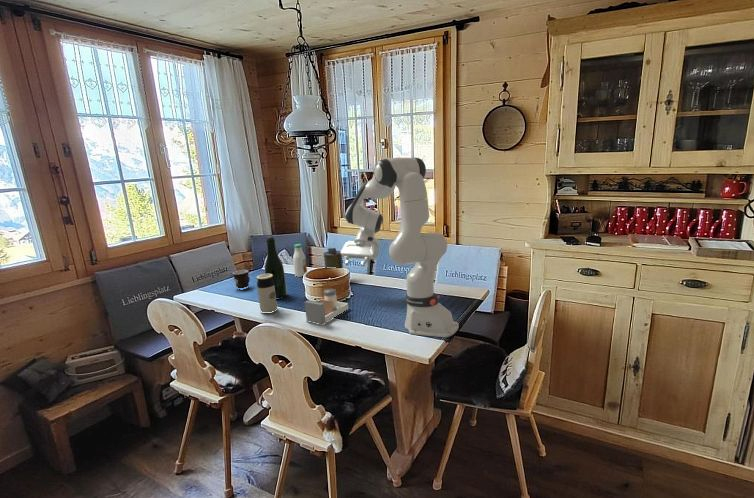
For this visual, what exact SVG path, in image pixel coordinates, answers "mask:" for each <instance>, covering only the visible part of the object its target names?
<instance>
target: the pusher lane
mask: <svg viewBox="0 0 754 498" xmlns="http://www.w3.org/2000/svg"><path fill="white" fill-rule="evenodd" d="M304 309H305V319H306V322H307V321H311V322H315V323H319V324H324V323H326V322H327V321H329V320H331V319H332V318H334V317H336V316H337V315H339V314H341V313H342V314H344V313H345V312H347V311H349V310H348V309H350V307H349V303H348V302H343V301H337V309H336V310H334V311H333V312H331V313H329V314H328V315H326V314H325V312H324V303H320V301H319V302H318V301H312V300H306V301H304ZM346 310H347V311H346ZM344 311H345V312H344ZM343 312H344V313H343ZM342 314H341V315H342ZM339 316H340V315H339ZM337 317H338V316H337ZM337 317H336V318H337ZM334 319H335V318H334ZM331 321H332V320H331ZM329 322H330V321H329ZM326 324H327V323H326ZM324 325H325V324H324Z"/></svg>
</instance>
